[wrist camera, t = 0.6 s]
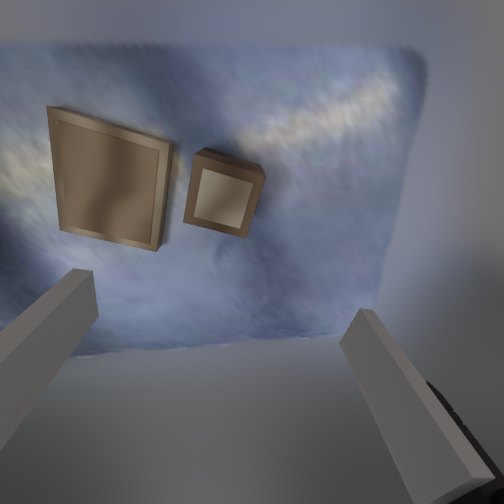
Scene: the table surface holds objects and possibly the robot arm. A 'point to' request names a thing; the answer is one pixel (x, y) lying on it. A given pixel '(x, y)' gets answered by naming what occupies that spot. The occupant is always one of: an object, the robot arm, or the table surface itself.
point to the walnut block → (223, 192)
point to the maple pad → (109, 179)
